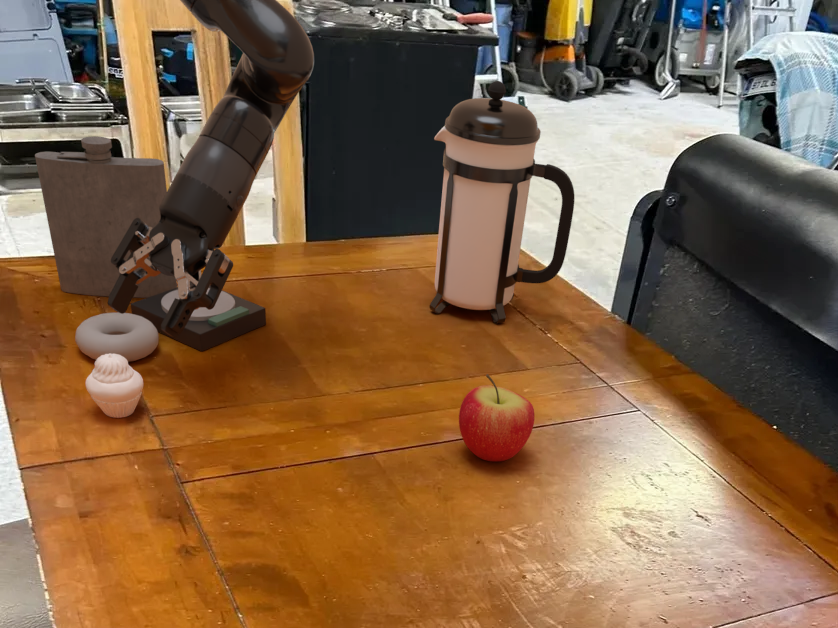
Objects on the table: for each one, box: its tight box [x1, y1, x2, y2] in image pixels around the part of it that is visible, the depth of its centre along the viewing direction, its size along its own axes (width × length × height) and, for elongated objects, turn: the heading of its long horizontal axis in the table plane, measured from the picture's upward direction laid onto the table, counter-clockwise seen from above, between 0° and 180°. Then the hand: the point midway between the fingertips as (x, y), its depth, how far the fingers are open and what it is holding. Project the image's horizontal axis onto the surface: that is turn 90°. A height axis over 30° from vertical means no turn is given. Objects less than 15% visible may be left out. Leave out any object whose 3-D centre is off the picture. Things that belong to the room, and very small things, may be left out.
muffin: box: [84, 353, 144, 419], centre depth 99 cm, size 6×6×7 cm
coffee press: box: [429, 80, 575, 325], centre depth 125 cm, size 17×16×30 cm
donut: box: [74, 311, 159, 363], centre depth 112 cm, size 10×3×10 cm
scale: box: [130, 286, 267, 352], centre depth 120 cm, size 13×12×3 cm
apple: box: [458, 373, 536, 462], centre depth 99 cm, size 8×8×10 cm
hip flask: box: [34, 135, 178, 299], centre depth 119 cm, size 16×4×20 cm, turn 97°
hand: (141, 321), depth 99 cm, fingers open, 8 cm apart
